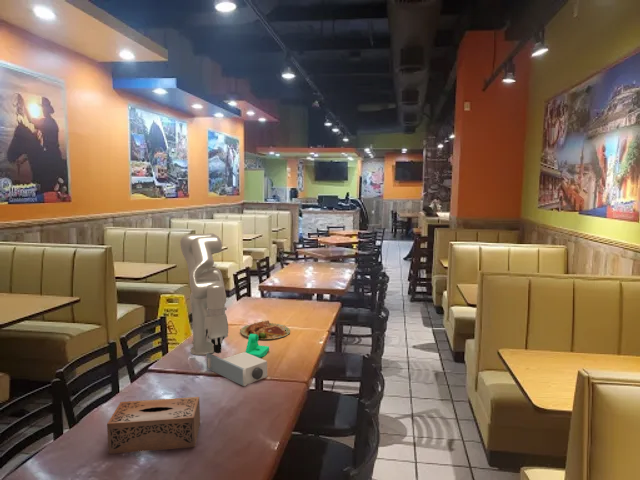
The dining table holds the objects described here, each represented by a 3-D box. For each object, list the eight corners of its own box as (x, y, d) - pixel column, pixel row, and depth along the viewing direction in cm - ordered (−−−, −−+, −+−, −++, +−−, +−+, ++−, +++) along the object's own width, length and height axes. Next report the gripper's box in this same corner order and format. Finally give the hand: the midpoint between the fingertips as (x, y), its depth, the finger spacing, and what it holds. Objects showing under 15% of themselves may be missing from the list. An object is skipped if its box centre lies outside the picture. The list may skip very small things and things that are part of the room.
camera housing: (222, 374, 199) (222, 359, 198) (244, 366, 207) (244, 351, 207) (247, 386, 187) (247, 370, 186) (269, 377, 195) (269, 362, 195)
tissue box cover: (108, 454, 140) (107, 423, 139) (122, 430, 154) (120, 401, 153) (194, 447, 143) (193, 417, 142) (200, 424, 158) (199, 396, 156)
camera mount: (259, 360, 216) (259, 339, 215) (245, 358, 218) (244, 337, 217) (269, 351, 227) (269, 331, 226) (255, 350, 229) (255, 330, 228)
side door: (204, 368, 204) (204, 353, 203) (208, 367, 206) (208, 352, 205) (242, 387, 185) (242, 370, 184) (246, 385, 187) (246, 369, 186)
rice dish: (299, 332, 260) (299, 323, 260) (269, 344, 237) (269, 334, 236) (261, 324, 275) (261, 316, 275) (229, 335, 252) (229, 325, 251)
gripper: (225, 307, 209) (226, 346, 210) (196, 313, 198) (198, 354, 199) (235, 310, 204) (236, 350, 205) (206, 316, 193) (207, 358, 194)
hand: (217, 352), depth 202 cm, fingers closed
